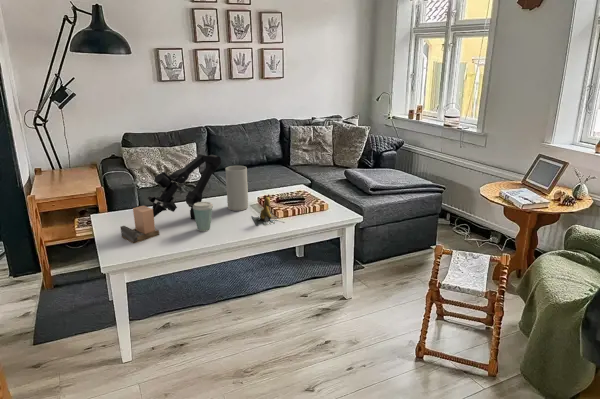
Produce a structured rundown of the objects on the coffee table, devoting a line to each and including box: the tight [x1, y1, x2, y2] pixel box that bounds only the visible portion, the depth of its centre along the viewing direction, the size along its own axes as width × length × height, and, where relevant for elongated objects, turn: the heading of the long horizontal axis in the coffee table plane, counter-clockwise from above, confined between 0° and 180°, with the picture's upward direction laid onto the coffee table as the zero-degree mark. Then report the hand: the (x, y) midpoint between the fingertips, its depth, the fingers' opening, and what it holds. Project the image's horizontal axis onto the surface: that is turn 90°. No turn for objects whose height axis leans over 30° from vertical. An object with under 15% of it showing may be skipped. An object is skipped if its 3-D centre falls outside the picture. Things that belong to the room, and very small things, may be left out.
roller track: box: [120, 225, 160, 244], centre depth 233 cm, size 14×12×6 cm
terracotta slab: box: [132, 205, 156, 234], centre depth 233 cm, size 6×9×12 cm, turn 49°
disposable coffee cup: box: [193, 201, 214, 232], centre depth 240 cm, size 11×11×15 cm
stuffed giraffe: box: [251, 194, 286, 227], centre depth 255 cm, size 16×18×16 cm
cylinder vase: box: [225, 165, 249, 212], centre depth 271 cm, size 12×12×25 cm
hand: (152, 217), depth 237 cm, fingers closed
